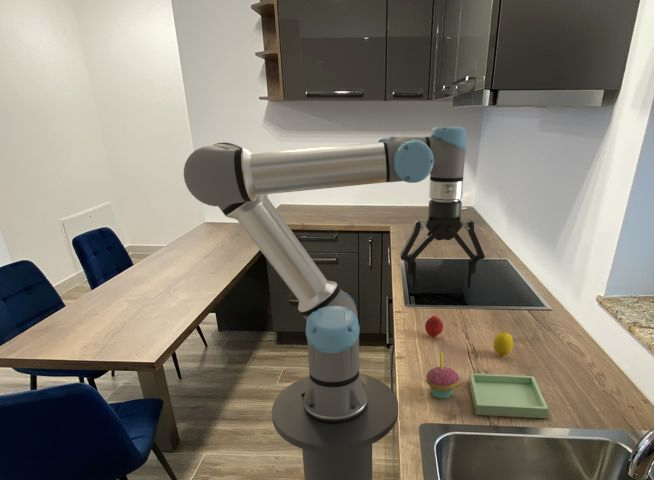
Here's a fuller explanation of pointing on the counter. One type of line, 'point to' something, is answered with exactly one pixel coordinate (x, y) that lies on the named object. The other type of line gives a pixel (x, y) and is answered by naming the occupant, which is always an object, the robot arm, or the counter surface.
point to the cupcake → (442, 380)
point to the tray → (507, 396)
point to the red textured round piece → (434, 326)
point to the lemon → (503, 343)
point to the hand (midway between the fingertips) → (440, 286)
